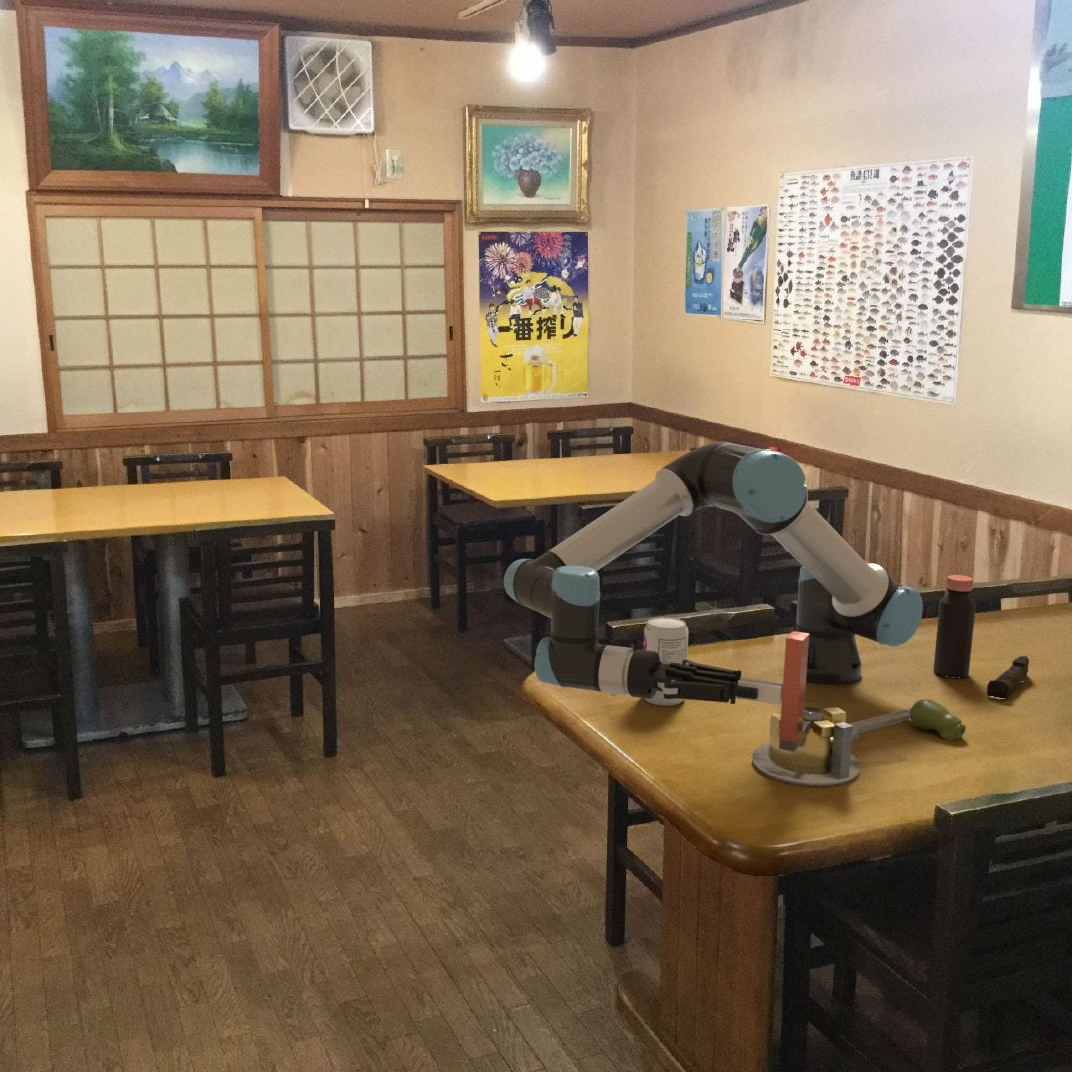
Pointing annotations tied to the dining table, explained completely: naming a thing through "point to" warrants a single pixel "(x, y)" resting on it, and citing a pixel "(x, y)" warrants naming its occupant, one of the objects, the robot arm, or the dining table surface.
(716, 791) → the dining table surface
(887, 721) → the adjustable wrench
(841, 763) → the spindle base
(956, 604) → the bottle
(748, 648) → the dining table surface
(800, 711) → the toy block assembly
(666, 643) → the supplement can
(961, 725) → the pear
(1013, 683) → the dark brown bar
